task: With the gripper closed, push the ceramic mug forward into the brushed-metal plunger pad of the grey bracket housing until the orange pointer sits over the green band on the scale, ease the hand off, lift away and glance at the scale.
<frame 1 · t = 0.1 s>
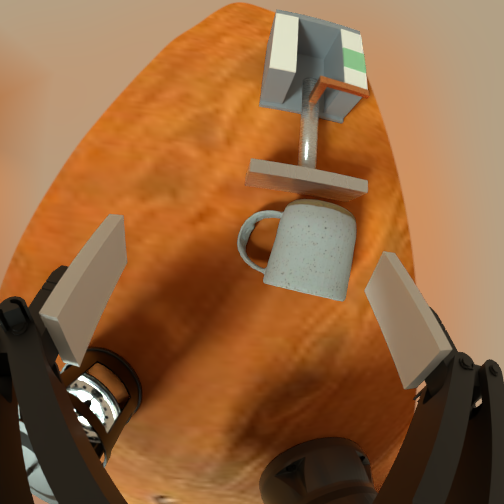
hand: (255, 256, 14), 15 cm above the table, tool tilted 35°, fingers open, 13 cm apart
grey bracket housing: (303, 81, 30), on the table
ceramic mug: (288, 251, 30), on the table
plunger: (312, 124, 25), point 5 cm above the table, slide at 0.0 cm
french press: (105, 387, 27), on the table
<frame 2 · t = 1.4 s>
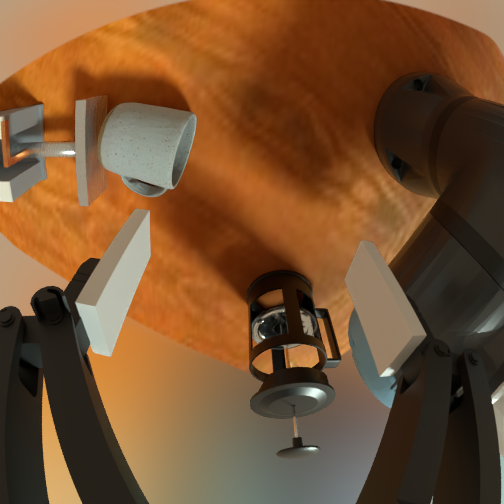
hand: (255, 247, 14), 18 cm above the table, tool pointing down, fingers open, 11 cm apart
grey bracket housing: (18, 143, 26), on the table
ceramic mug: (158, 146, 29), on the table
plunger: (45, 152, 23), point 5 cm above the table, slide at 0.0 cm
french press: (283, 295, 41), on the table
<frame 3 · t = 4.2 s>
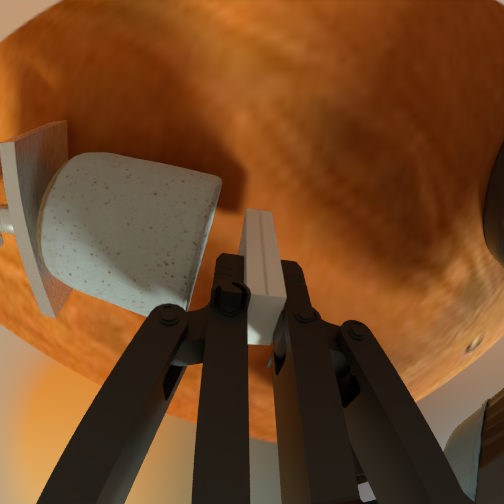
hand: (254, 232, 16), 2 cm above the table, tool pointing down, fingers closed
ceramic mug: (153, 220, 18), on the table, touching gripper
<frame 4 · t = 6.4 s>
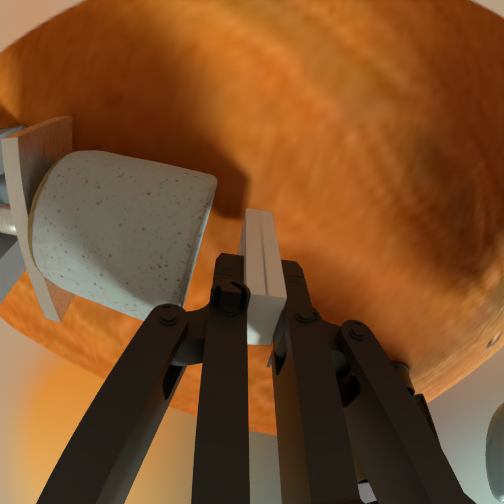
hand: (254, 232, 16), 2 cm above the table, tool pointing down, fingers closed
ceramic mug: (147, 219, 17), on the table, touching gripper, plunger
french press: (375, 381, 30), on the table
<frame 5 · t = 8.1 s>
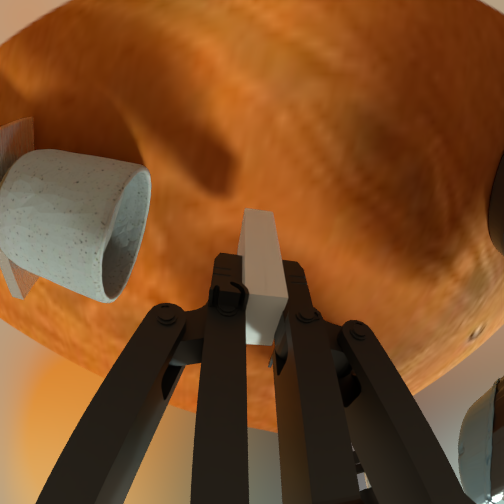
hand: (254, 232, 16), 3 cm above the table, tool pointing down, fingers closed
ceramic mug: (100, 209, 18), on the table
french press: (346, 373, 30), on the table
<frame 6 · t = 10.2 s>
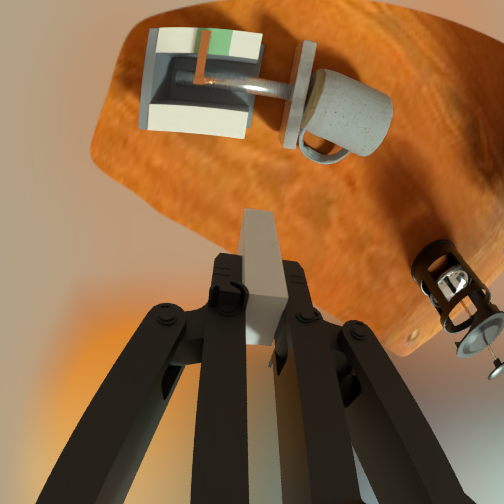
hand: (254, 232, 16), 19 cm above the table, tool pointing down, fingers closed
grey bracket housing: (212, 80, 27), on the table
ceramic mug: (330, 117, 30), on the table
plunger: (239, 83, 23), point 5 cm above the table, slide at 5.5 cm
french press: (435, 262, 41), on the table
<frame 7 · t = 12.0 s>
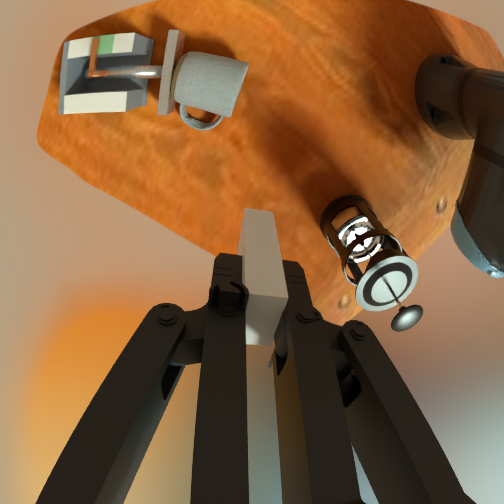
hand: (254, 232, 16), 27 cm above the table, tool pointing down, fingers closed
grey bracket housing: (117, 72, 31), on the table
ceramic mug: (211, 91, 34), on the table
plunger: (126, 72, 27), point 5 cm above the table, slide at 5.6 cm
french press: (349, 220, 47), on the table
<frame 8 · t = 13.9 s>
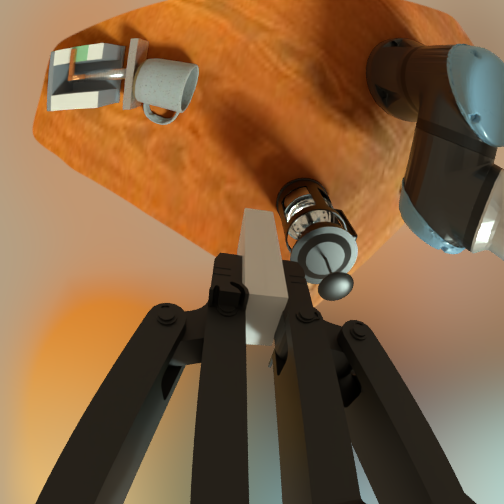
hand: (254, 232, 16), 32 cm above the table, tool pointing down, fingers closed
grey bracket housing: (96, 75, 35), on the table
ceramic mug: (171, 91, 38), on the table
plunger: (99, 75, 32), point 5 cm above the table, slide at 5.7 cm
french press: (305, 202, 50), on the table
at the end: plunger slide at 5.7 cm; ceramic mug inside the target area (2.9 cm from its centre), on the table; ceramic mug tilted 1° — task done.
